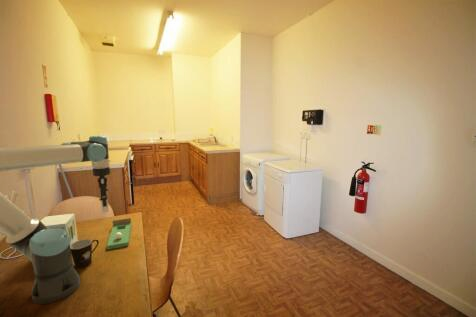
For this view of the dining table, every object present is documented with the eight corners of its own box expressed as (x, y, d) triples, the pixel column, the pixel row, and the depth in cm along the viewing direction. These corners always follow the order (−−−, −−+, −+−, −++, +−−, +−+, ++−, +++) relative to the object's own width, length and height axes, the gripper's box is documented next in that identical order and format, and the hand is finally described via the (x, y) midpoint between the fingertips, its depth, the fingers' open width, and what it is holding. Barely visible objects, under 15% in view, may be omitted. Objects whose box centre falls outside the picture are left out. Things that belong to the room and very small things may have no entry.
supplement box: (70, 257, 115) (65, 223, 112) (37, 262, 111) (31, 227, 108) (79, 243, 127) (75, 212, 124) (49, 247, 123) (45, 216, 120)
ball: (122, 239, 127) (121, 233, 126) (114, 240, 126) (114, 234, 125) (122, 236, 130) (122, 230, 130) (115, 237, 129) (115, 231, 128)
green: (128, 245, 125) (127, 237, 124) (107, 249, 121) (106, 240, 120) (131, 225, 148) (130, 217, 148) (113, 227, 145) (112, 220, 144)
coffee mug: (73, 272, 103) (70, 251, 102) (71, 263, 110) (68, 243, 108) (103, 262, 111) (100, 242, 109) (99, 253, 117) (97, 235, 115)
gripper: (110, 171, 108) (114, 214, 112) (108, 162, 129) (112, 199, 133) (91, 172, 104) (96, 218, 108) (92, 163, 126) (97, 201, 129)
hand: (105, 207), depth 121 cm, fingers open, 13 cm apart
